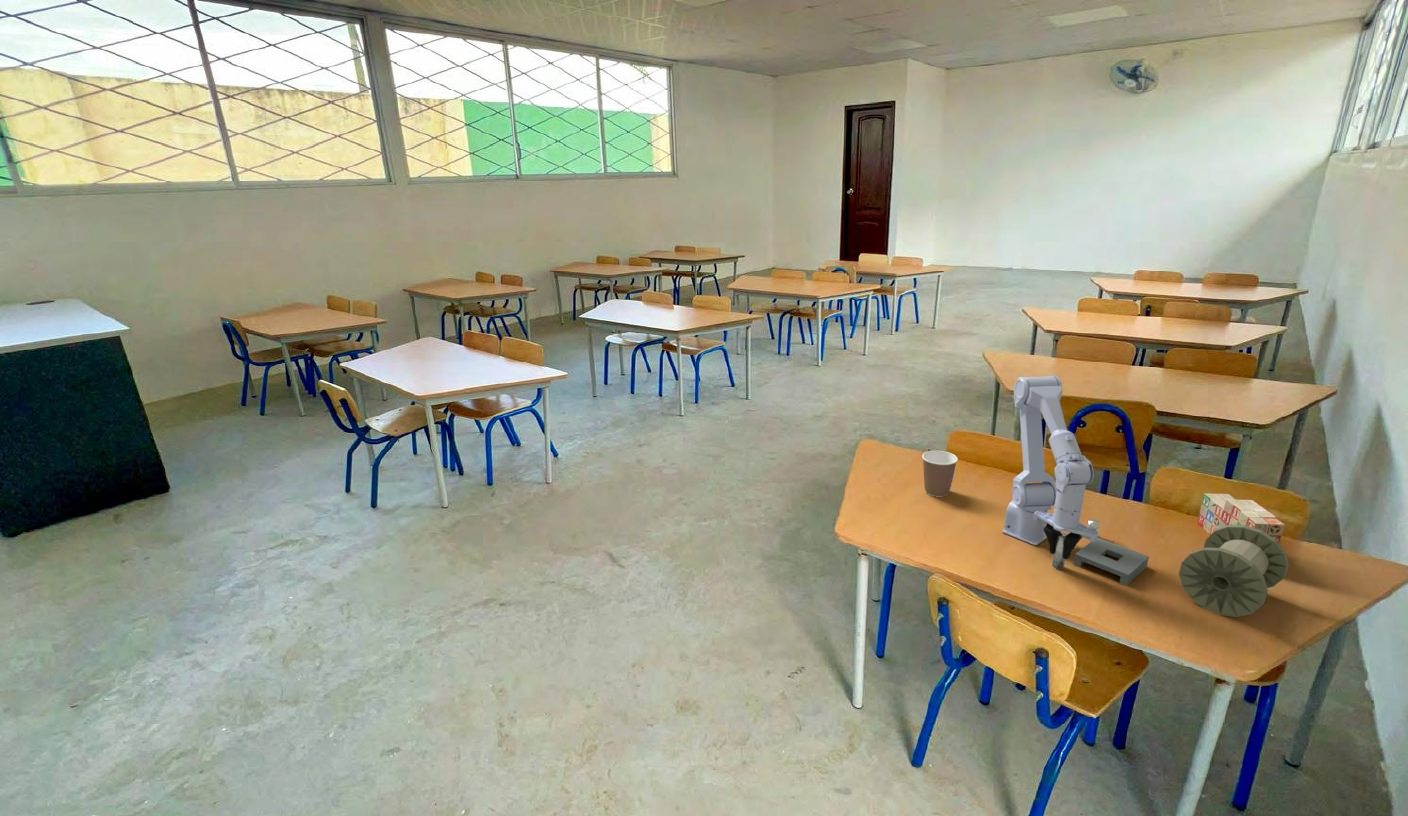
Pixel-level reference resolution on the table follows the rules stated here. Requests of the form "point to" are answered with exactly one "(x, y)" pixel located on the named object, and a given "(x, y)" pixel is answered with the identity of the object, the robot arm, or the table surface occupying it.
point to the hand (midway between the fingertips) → (1059, 555)
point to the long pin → (1059, 552)
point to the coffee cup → (938, 472)
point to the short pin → (1093, 524)
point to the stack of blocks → (1237, 515)
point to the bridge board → (1124, 567)
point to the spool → (1234, 570)
